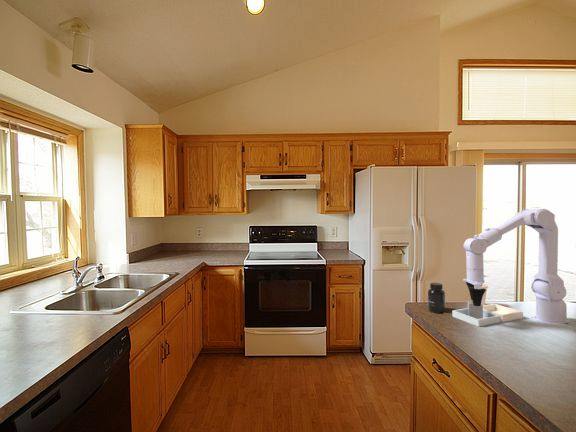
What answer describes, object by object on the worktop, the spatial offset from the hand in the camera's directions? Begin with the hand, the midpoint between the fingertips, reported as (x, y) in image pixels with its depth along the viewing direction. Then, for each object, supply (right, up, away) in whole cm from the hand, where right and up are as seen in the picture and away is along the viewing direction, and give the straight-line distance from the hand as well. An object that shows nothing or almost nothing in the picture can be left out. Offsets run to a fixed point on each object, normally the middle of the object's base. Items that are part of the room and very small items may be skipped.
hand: (475, 303), depth 115 cm
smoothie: (+13, -7, +18) cm, 23 cm away
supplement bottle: (-9, -7, +12) cm, 17 cm away
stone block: (0, -6, 0) cm, 6 cm away
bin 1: (0, -7, 0) cm, 7 cm away
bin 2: (+12, -7, +4) cm, 14 cm away
